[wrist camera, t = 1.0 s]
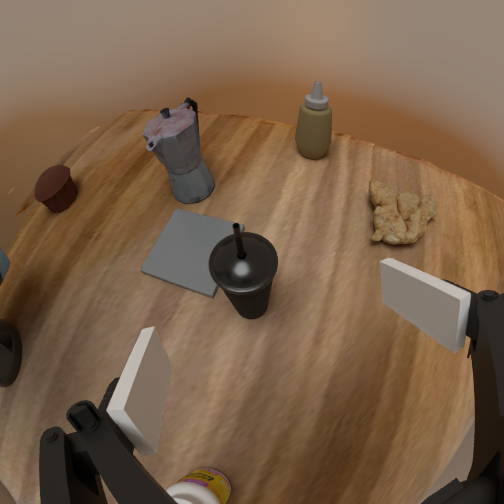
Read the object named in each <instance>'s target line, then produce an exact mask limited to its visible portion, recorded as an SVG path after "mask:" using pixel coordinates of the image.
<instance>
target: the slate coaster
mask: <svg viewBox="0 0 504 504" xmlns="http://www.w3.org/2000/svg"><path fill="white" fill-rule="evenodd" d="M233 224H234V222H230V221H226V220H222V219H217V218H213V217H209V216H205V215H201V214H197V213H192V212H188V211H184V210H179V209H176V210H175V212H174V213H173V215H172V216H171V218H170V220H169V221H168V223H167V225H166V226H165V228H164V230H163V231H162V233H161V235H160V236H159V238H158V240H157V241H156V243H155V245H154V247H153V248H152V250H151V252H150V254H149V255H148V257H147V259H146V261H145V262H144V264H143V266H142V268H141V270H140V271H141V272H142V273H144V274H147V275H149V276H152V277H155V278H157V279H160V280H163V281H165V282H168V283H171V284H174V285H176V286H179V287H182V288H185V289H187V290H190V291H193V292H196V293H199V294H202V295H205V296H207V297H210V298H214V295H215V293H216V291H217V289H218V285H217V284H216V283H215V282H214V280H213V279H212V277H211V275H210V272H209V265H208V264H209V257H210V254H211V252H212V250H213V248H214V247H215V246H216V244H217V243H218V242H220V241H221V240H222V239H224V238H225V237H227V236H229V235H232V234H234V232H233V227H232V225H233ZM239 225H240V229H241V232H243V230H244V225H242V224H239Z"/></svg>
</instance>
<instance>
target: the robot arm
mask: <svg viewBox="0 0 504 504" xmlns="http://www.w3.org/2000/svg"><path fill="white" fill-rule="evenodd" d="M379 262H380V272H381V284H382V298H383V303H384V304H385V305H387V306H388V307H389V308H391V309H392V310H394V311H395V312H397V313H398V314H399V315H401V316H402V317H404V318H405V319H406V320H408V321H409V322H411V323H412V324H413V325H415V326H416V327H418V328H419V329H420V330H422V331H423V332H425V333H426V334H427V335H429V336H430V337H432V338H433V339H434V340H436V341H437V342H438V343H440V344H441V345H442V346H444V347H445V348H447V349H448V350H449V351H451V352H452V353H453V354H454V353H455V352H457V351H458V350H460V349H461V348H462V347H464V344H465V338H466V335H467V336H468V337H470V338H471V340H470V346H469V351H468V356H467V358H469V356H470V354H471V359H472V368H473V380H474V397H475V435H474V452H473V462H472V466H471V469H470V472H469V474H468V477H467V480H465V481H463V482H459V481H458V479H457V478H455V479H454V480H453V481H452V482H450V483H449V484H447V485H446V486H444V487H443V488H441V489H440V490H438V491H437V492H435V493H434V494H432V495H431V496H429V497H428V498H427V499H426V500H425V501H423V502H422V503H421V504H504V293H503V294H499V293H497V292H495V291H492V290H484V291H481V292H479V293H478V294H477V293H475V292H473V291H470V290H468V289H466V288H464V287H462V286H461V287H460V286H459V285H457V284H455V283H453V282H450V281H448V280H443V279H438V278H436V277H434V276H432V275H429V274H427V273H425V272H422V271H420V270H418V269H416V268H413V267H411V266H408V265H406V264H404V263H401V262H399V261H397V260H394V259H392V258H387V259H384V260H382V261H379ZM9 267H10V261H9V258H8V257H7V256H6V254H5V253H4V252H3V251H2V250H1V249H0V285H1V283H2V282H3V281H4V277H5V275H6V273H7V271H8V269H9ZM20 362H21V341H20V337H19V334H18V331H17V329H16V328H15V327H14V325H12V324H11V323H9V322H7V321H5V320H3V319H0V386H1V387H7V386H9V385H10V384H12V383H13V381H14V380H15V378H16V376H17V374H18V371H19V367H20ZM172 368H173V366H172V363H171V361H170V359H169V357H168V355H167V353H166V351H165V348H164V346H163V344H162V342H161V339H160V337H159V335H158V332H157V330H156V328H155V326H154V327H150V328H145V329H142V331H141V333H140V336H139V338H138V340H137V342H136V344H135V346H134V348H133V350H132V353H131V355H130V357H129V359H128V361H127V364H126V366H125V368H124V370H123V372H122V375H121V377H119V378H115V379H114V380H113V381H112V382H111V383H110V384H109V386H108V388H107V390H106V393H105V395H104V397H103V399H102V401H101V403H100V406H99V408H98V410H97V408H96V407H95V405H94V404H93V403H92V402H91V401H87V400H85V401H80V402H78V403H76V404H74V405H73V406H71V408H70V409H69V410H68V412H67V414H66V417H67V420H68V421H69V422H70V423H71V425H72V426H73V427H74V428H75V430H76V431H77V432H74V433H70V434H66V433H65V432H64V431H63V430H62V429H61V428H60V427H52V428H49V429H47V430H46V431H45V432H44V433H43V435H42V436H41V439H40V457H39V478H40V499H41V504H108V503H107V500H106V497H105V493H104V490H103V486H102V482H101V478H100V475H101V477H102V479H103V480H104V482H105V484H106V485H107V487H108V488H109V490H110V492H111V493H112V495H113V496H114V498H115V499H116V501H117V502H118V504H178V503H177V502H176V501H175V500H174V499H173V498H172V497H171V496H170V495H169V494H168V493H167V492H166V491H165V490H164V489H163V488H162V487H161V486H160V485H159V484H158V482H157V481H156V480H155V479H154V478H153V477H152V476H151V475H150V474H149V473H148V471H147V470H146V469H145V468H144V467H143V466H142V464H141V463H140V462H139V461H138V460H137V458H136V457H135V456H134V455H133V451H134V447H135V448H136V450H137V451H138V452H139V453H140V454H141V455H156V454H158V448H159V442H160V435H161V429H162V423H163V417H164V411H165V405H166V400H167V394H168V389H169V384H170V378H171V373H172Z"/></svg>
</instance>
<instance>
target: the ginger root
mask: <svg viewBox="0 0 504 504" xmlns="http://www.w3.org/2000/svg"><path fill="white" fill-rule="evenodd" d="M369 195H370V198H371V200H372V203H373V204H374V206H375V208H376V209H375V211H374V214H373V221H374V226H375V230H376V231H375V233H374V234H373V235H372V237H371V240H373V241H380V240H381V239H382V240H383V241H384V242H386V243H389V244H394V245H396V244H407V243H410V244H411V243H414V242H416V241H417V240H418V237H420V236H422V234H423V233H424V232H425V231H426V230H427V222H428V221H429V220H430V218H433V217H435V216H437V212H436V211H435V209H436V207H437V203H436V201H435V199H434V197H433V196H432V195H425V196H423V198H422V199H420V198H419V197H418V196H417V195H416V194H410V193H409V192H408V191H405V192H404V193H401V194H399V195H398V194H397V193H393V192H392V191H391V190H390V187H389V186H388V185H386V184H384V183H382V182H379V181H377V180H374V179H372V180H370V182H369Z"/></svg>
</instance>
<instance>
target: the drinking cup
mask: <svg viewBox="0 0 504 504" xmlns="http://www.w3.org/2000/svg"><path fill="white" fill-rule="evenodd" d="M232 227H233V232H234V234H232V235H229V236H227V237H225V238H224V239H222V240H221V241H220V242H218V243H217V244H216V246H215V247H214V248H213V250H212V252H211V254H210V257H209V264H208V265H209V272H210V275H211V277H212V279H213V280H214V282H215V283H216V284H217V285H218V286H219V287H220V288H221V289H222V290H223V291H224V293H225V294H226V295H227V297H228V298H229V300H230V301H231V303H232V304H233V306H234V307H235V309H236V310H237V311H238V313H239V314H240V315H241V316H242V317H244V318H247V319H256V318H259V317H260V316H262V315H263V314H264V313H265V311H266V309H267V305H268V301H269V296H270V291H271V286H272V281H273V278H274V276H275V274H276V271H277V267H278V256H277V253H276V250H275V248H274V247H273V245H272V244H271V243H270V242H269V241H268V240H267V239H266V238H264V237H262V236H260V235H258V234H255V233H250V232H241V229H240V225H239V223H234V224H233V225H232Z"/></svg>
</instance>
